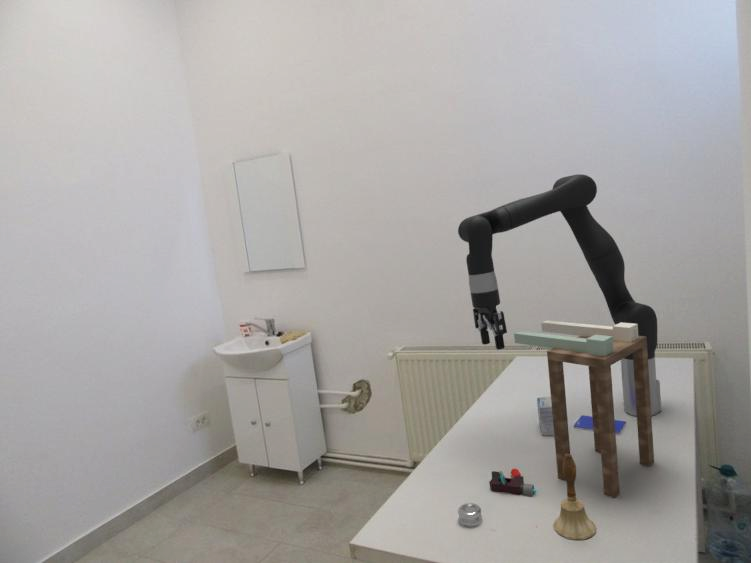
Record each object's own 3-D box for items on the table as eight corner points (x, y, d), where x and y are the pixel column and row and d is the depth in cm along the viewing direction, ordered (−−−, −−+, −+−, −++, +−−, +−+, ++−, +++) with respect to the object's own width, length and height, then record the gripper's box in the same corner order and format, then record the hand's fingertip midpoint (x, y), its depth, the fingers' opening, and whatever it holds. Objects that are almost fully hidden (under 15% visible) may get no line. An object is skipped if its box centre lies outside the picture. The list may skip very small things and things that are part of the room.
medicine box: (558, 435, 150) (555, 406, 149) (541, 436, 151) (539, 407, 150) (554, 423, 158) (552, 396, 157) (539, 424, 159) (536, 397, 158)
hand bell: (545, 521, 112) (539, 451, 110) (580, 512, 114) (574, 442, 112) (568, 544, 104) (562, 469, 102) (605, 533, 106) (599, 459, 104)
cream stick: (540, 332, 141) (539, 319, 141) (548, 328, 144) (547, 316, 143) (630, 342, 123) (629, 327, 122) (638, 338, 125) (637, 323, 125)
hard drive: (573, 425, 153) (619, 432, 146) (581, 414, 160) (626, 420, 152) (573, 430, 154) (619, 437, 146) (582, 419, 160) (626, 425, 152)
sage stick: (513, 343, 134) (511, 330, 133) (522, 339, 136) (521, 326, 136) (604, 356, 115) (603, 340, 115) (613, 351, 118) (612, 336, 117)
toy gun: (537, 499, 121) (535, 480, 121) (485, 493, 127) (483, 474, 126) (544, 478, 130) (542, 459, 129) (495, 473, 135) (493, 455, 135)
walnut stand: (558, 478, 128) (546, 351, 124) (599, 447, 141) (590, 330, 136) (614, 498, 117) (604, 359, 113) (654, 462, 130) (646, 336, 125)
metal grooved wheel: (484, 525, 114) (479, 512, 119) (483, 513, 113) (477, 500, 118) (461, 529, 114) (457, 515, 119) (460, 516, 113) (455, 503, 118)
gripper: (509, 288, 139) (518, 347, 140) (484, 285, 153) (493, 339, 154) (483, 293, 137) (492, 354, 139) (460, 290, 151) (469, 345, 152)
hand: (493, 346), depth 146 cm, fingers open, 8 cm apart
